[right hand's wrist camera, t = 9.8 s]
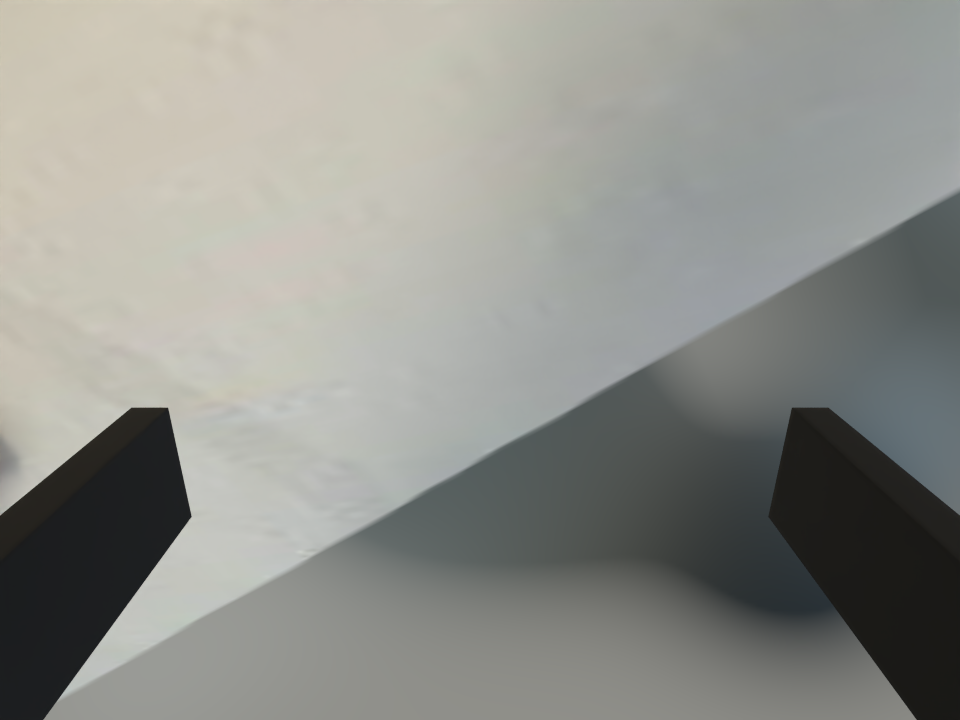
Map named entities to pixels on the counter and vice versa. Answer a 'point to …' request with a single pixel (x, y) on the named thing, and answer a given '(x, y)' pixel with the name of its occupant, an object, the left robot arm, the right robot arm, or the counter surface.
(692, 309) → the counter surface
